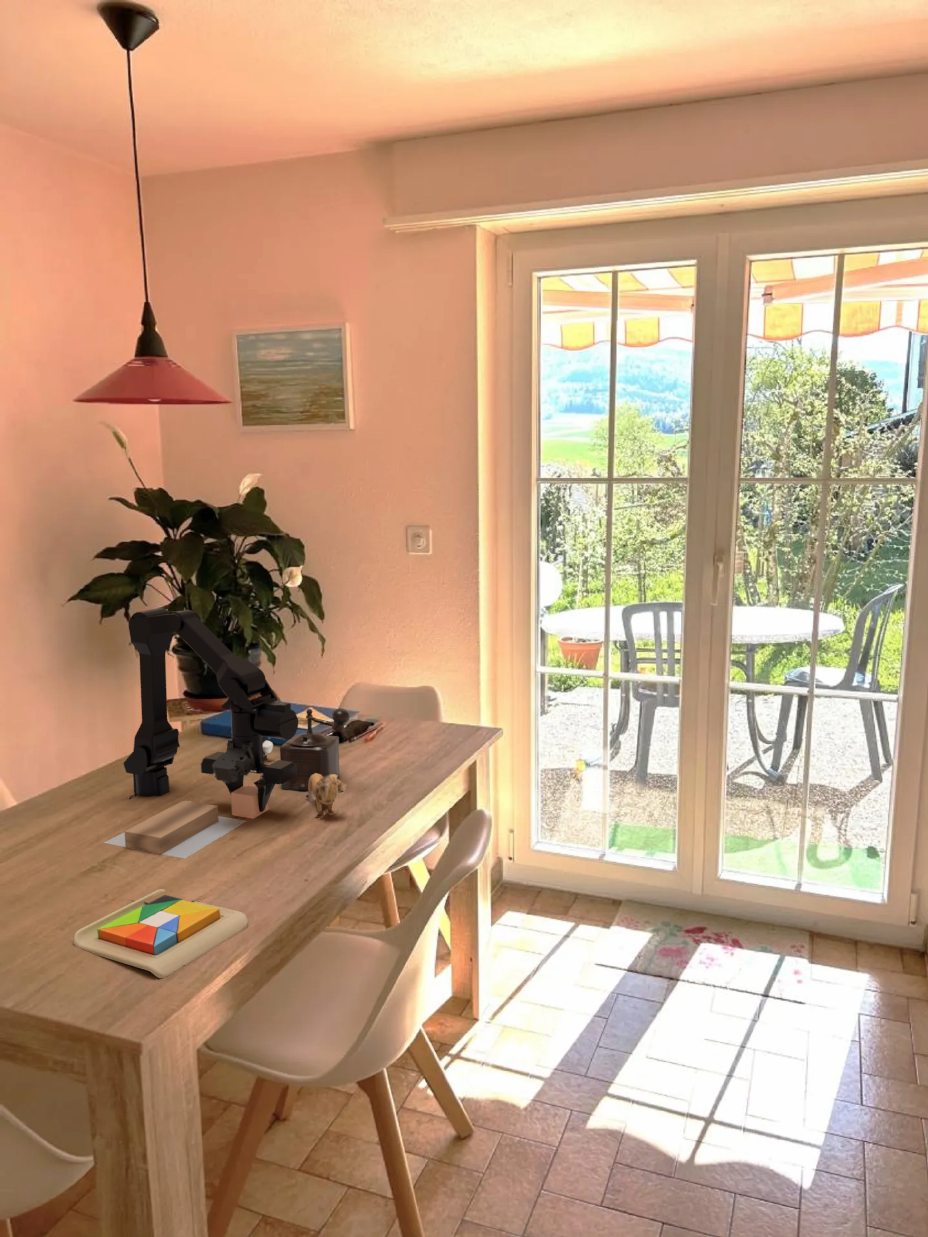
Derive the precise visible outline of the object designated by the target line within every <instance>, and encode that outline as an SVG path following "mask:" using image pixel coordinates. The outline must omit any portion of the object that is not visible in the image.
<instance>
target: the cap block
mask: <svg viewBox="0 0 928 1237" xmlns="http://www.w3.org/2000/svg"><path fill="white" fill-rule="evenodd" d="M230 800H231V801H230V802H231V815H232V816H235V817H242V818H248V819H256V818H257V817H259V816H260V815H262V814H264V813H265V812H267V811H268V810H269V801H268V802H267V804H266V807H265V809H264V811H262V812H260V811H259V806H258V788H257V786H256V785H252V784H245V785H244V784H243V786H242V787H241V788H239V789H237V790H235V791H233V792H232V793H231V794H230Z"/></svg>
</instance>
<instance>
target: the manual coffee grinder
mask: <svg viewBox="0 0 928 1237" xmlns="http://www.w3.org/2000/svg"><path fill="white" fill-rule="evenodd" d="M305 714H306V715H305V719H306V720H307V729H306V730H307V731H306V732H303V733H301V734H300V733H295V735H294V736H293V737H292V738H291V739H289V740H286V741H285V742H284V743H283V744H282V745H281V746H280V747H279V754H280V759H279V760H282V761H289V762H293V763H294V764H295V765H296V767H297V776H295V777H293V778H292V779H290V780H288V781H287V782H285V783H283V784H281V787H280V788H281V790H286V791H287V790H288V791H289V790H290V791H301V792H302V791H305V792H308V783H309V779H310V777H311V775H313V774H315V773H317V774H321V775H322V776H323V777H324V776H327V775H330V774H332V775H333V774H335V775H337V776H338V779H339V778H340V740H339V739H340V737H339V736H335V735H323V734H322V733H320V732H316V731H315V732H314V731H313V729H312V726H313V724H312V721H313V722H315V723H318V724H321V725H325V726H329V727H331V728H332V730H333V731H335V732H336V733H338V732H341V733H342V732H344V731H345V730H346V729H345V728H346V727H345V725H346V724H347V723H348V721H350V716H351V715H350V712H349V711H348V710H346V709H344V708H342V707H340V708H336V709H334V710H333V711H332V713H331V717H332V719H333V722H332V721H328V720H324V719H319V718H317V717H313V710H312V709H311V708H308V709H307V710H306V713H305Z"/></svg>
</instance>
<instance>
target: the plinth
mask: <svg viewBox="0 0 928 1237" xmlns="http://www.w3.org/2000/svg"><path fill="white" fill-rule="evenodd" d="M218 816H219V806H218V805H215V804H207V803H203V802H202V803H201V802H197V801H196V802H195V801H190V800H182V801H179V802H177V803H176V804H174V805H172V806H170V807H168V808H167V809H164V810H163V811H161V812H159V813H157V814H155V815H152V816H150V817H148V818H147V819H145V820H143V821H141V822H140V823H138V824H136V825H134V826H131V827H129V828H128V829H126V830H124V831H123V833H124V832H125V846H126V847H127V848H126V847H125V848H126V849H131V848H133V850H136V849H138V851H141V850H143V851H142V852H147V851H148V853H152V852H153V854H157V853H158V854H157V855H162V854H163V853H165V852H166V851H168V850H170V849H171V848H173V847H175V846H177V845H178V844H180V843H182V842H183V841H185V840H187V839H189V838H190V837H192V836H194V835H195V834H197V833H199V832H201V831H202V830H204V829H206V828H207V827H209V826H211V825H213V824H214V823H216V822H218V821H219V819H218Z"/></svg>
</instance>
